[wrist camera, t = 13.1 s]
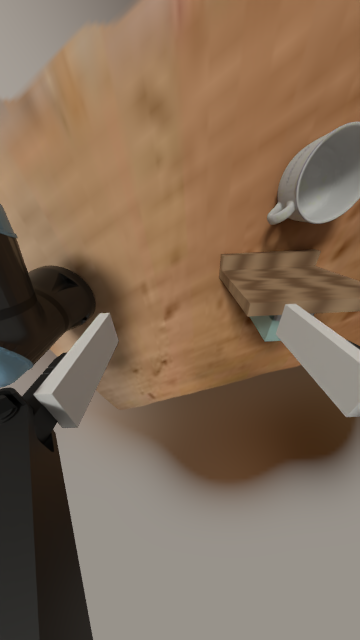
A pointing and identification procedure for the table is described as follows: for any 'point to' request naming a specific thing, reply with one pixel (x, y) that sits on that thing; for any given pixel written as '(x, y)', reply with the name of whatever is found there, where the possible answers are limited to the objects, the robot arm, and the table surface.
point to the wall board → (286, 283)
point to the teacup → (321, 179)
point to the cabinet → (267, 326)
